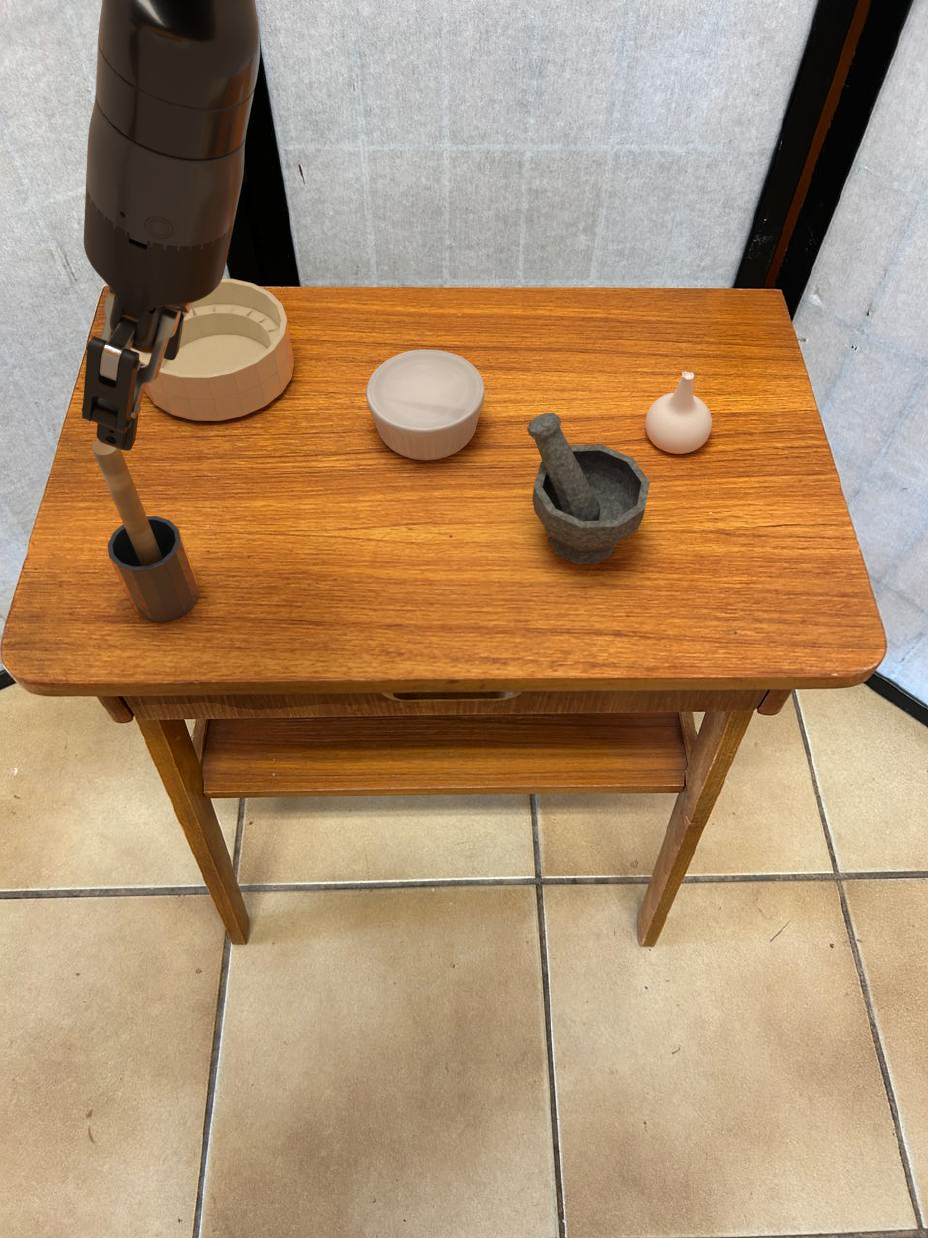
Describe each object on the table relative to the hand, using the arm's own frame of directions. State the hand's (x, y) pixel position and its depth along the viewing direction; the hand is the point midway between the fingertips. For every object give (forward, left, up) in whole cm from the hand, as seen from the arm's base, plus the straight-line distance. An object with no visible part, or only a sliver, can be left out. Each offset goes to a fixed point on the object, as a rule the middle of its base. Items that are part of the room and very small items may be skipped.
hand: (138, 396), depth 63 cm
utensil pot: (-3, +2, -22) cm, 23 cm away
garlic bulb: (+47, +7, -23) cm, 52 cm away
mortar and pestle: (+33, -2, -23) cm, 40 cm away
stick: (-3, +2, -22) cm, 22 cm away
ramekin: (+24, +15, -23) cm, 36 cm away
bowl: (+6, +29, -22) cm, 37 cm away
